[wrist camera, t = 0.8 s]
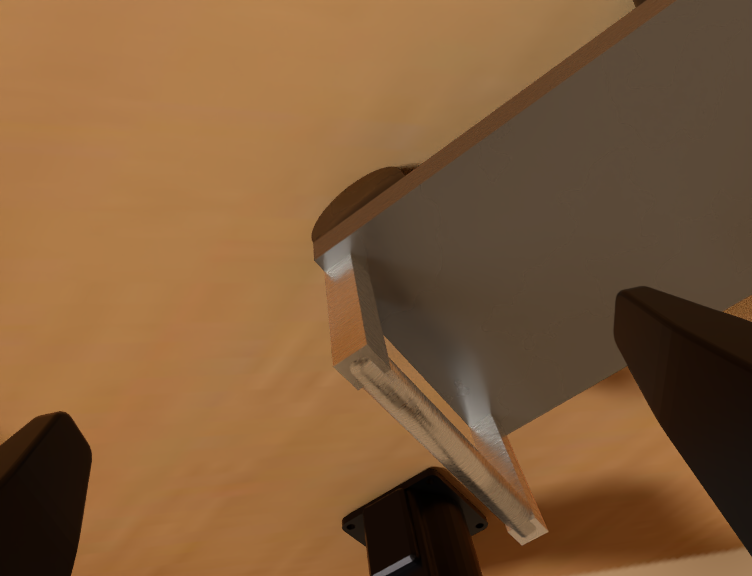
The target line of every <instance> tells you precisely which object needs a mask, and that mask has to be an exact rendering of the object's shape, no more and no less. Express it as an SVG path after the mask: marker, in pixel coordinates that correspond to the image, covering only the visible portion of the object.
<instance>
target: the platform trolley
mask: <svg viewBox="0 0 752 576" xmlns="http://www.w3.org/2000/svg"><path fill="white" fill-rule="evenodd" d="M633 2H634V4H635V7H636V8H635V9H634V10H632V11H631V12H630V13H628V14H627V15H626V16H624V17H623V18H621V19H620V20H619V21H617V22H616V23H615V24H613V25H612V26H610V27H609V28H608V29H606V30H605V31H604V32H602V33H601V34H599V35H598V36H597V37H595V38H594V39H593V40H591V41H590V42H588V43H587V44H586V45H584V46H583V47H582V48H580V49H579V50H577V51H576V52H575V53H573V54H572V55H571V56H569V57H568V58H566V59H565V60H564V61H562V62H561V63H560V64H558V65H557V66H556V67H554V68H553V69H551V70H550V71H549V72H547V73H546V74H545V75H543V76H542V77H540V78H539V79H538V80H536V81H535V82H534V83H532V84H531V85H529V86H528V87H527V88H525V89H524V90H523V91H521V92H520V93H518V94H517V95H516V96H514V97H513V98H512V99H510V100H509V101H507V102H506V103H505V104H503V105H502V106H501V107H499V108H498V109H496V110H495V111H494V112H492V113H491V114H490V115H488V116H487V117H485V118H484V119H483V120H481V121H480V122H479V123H477V124H476V125H475V126H473V127H472V128H470V129H469V130H468V131H466V132H465V133H464V134H462V135H461V136H459V137H458V138H457V139H455V140H454V141H453V142H451V143H450V144H448V145H447V146H446V147H444V148H443V149H442V150H440V151H439V152H437V153H436V154H435V155H433V156H432V157H431V158H429V159H428V160H426V161H425V162H424V163H422V164H421V165H420V166H418V167H417V168H415V169H414V170H413V171H411V172H410V173H409V174H407V175H406V176H405V175H404V174H403V173H402V171H401V170H400V169H399V168H397V167H386V168H382V169H379V170H376V171H374V172H371V173H369V174H367V175H366V176H364V177H362V178H361V179H359V180H357V181H356V182H355V183H353V184H352V185H350V186H349V187H348V188H346V189H345V190H344V191H343V192H342V193H341V194H339V195H338V196H337V197H336V198H335V199H334V200H333V201H332V202H331V203H330V204H329V206H328V207H327V208H326V209H325V210H324V211H323V213H322V214H321V216H320V217H319V219H318V220H317V222H316V224H315V226H314V228H313V231H312V241H313V246H314V261H315V262H316V263H317V264H318V265H319V266H320V267H321V268H322V269H323V270H324V271H325V281H326V293H327V304H328V315H329V326H330V337H331V348H332V359H333V367H334V368H335V369H336V370H337V371H338V372H339V373H340V374H342V375H343V376H344V377H345V378H346V379H347V380H348V381H349V382H350V383H351V384H352V385H353V386H354V387H355V388H356V389H357V390H359V389H361V388H363V389H364V390H366V391H367V392H368V393H369V394H370V395H371V396H372V397H373V398H374V399H375V400H376V401H377V402H378V403H379V404H380V405H381V406H382V407H383V408H384V409H385V410H386V411H387V412H388V413H390V414H391V415H392V416H393V417H394V418H395V419H396V420H397V421H398V422H399V423H400V424H401V425H402V426H403V427H404V428H405V429H406V430H407V431H408V432H409V433H410V434H411V435H412V436H414V437H415V438H416V439H417V440H418V441H419V442H420V443H421V444H422V445H423V446H424V447H425V448H426V449H427V450H428V451H429V452H430V453H431V454H432V455H433V456H434V457H435V458H436V459H438V460H439V461H440V462H441V463H442V464H443V465H444V466H445V467H446V468H447V469H448V470H449V471H450V472H451V473H452V474H453V475H454V476H455V477H456V478H457V479H458V480H459V481H460V482H462V483H463V484H464V485H465V486H466V487H467V488H468V489H469V490H470V491H471V492H472V493H473V494H474V495H475V496H476V497H477V498H478V499H479V500H480V501H481V502H482V503H483V504H484V505H486V506H487V507H488V508H489V509H490V510H491V511H492V512H493V513H494V514H495V515H496V516H497V517H498V518H499V519H500V520H501V521H502V522H503V523H504V524H505V526H506V529H507V531H508V533H509V534H510V535H511V536H512V537H513V538H514V539H516V540H517V541H518V542H519V543H520V544H521V545H524V544H526V543H528V542H530V541H532V540H534V539H536V538H538V537H539V536H541V535H543V534H545V533H547V532H549V531H548V529H547V527H546V524H545V522H544V520H543V518H542V515H541V513H540V511H539V508H538V506H537V504H536V502H535V499H534V497H533V495H532V492H531V490H530V488H529V486H528V483H527V481H526V479H525V476H524V474H523V472H522V470H521V467H520V465H519V463H518V460H517V458H516V456H515V454H514V451H513V449H512V447H511V444H510V442H509V440H508V438H507V435H508V434H509V433H511V432H513V431H515V430H516V429H518V428H520V427H522V426H523V425H525V424H527V423H529V422H530V421H532V420H534V419H536V418H537V417H539V416H541V415H543V414H544V413H546V412H548V411H550V410H551V409H553V408H555V407H557V406H558V405H560V404H562V403H564V402H565V401H567V400H569V399H571V398H572V397H574V396H576V395H577V394H579V393H581V392H583V391H584V390H586V389H588V388H590V387H591V386H593V385H595V384H597V383H598V382H600V381H602V380H604V379H605V378H607V377H609V376H611V375H612V374H614V373H616V372H618V371H619V370H621V369H623V368H625V367H626V366H627V364H626V362H625V360H624V358H623V357H622V355H621V353H620V351H619V349H618V347H617V345H616V343H615V340H614V335H613V327H614V313H615V300H616V296H617V293H618V292H620V291H621V290H624V289H628V288H633V287H638V286H647V287H650V288H653V289H656V290H659V291H662V292H665V293H668V294H671V295H674V296H677V297H680V298H683V299H686V300H689V301H691V302H694V303H697V304H700V305H703V306H706V307H709V308H712V309H715V310H718V311H721V312H722V311H724V310H726V309H728V308H729V307H731V306H733V305H735V304H736V303H738V302H740V301H742V300H743V299H745V298H747V297H749V296H750V295H752V0H633ZM383 335H384V336H385V337H386V338H387V339H388V340H389V341H390V342H391V343H392V344H393V345H394V346H395V348H396V349H397V350H398V351H399V352H400V353H401V354H402V355H403V356H404V357H405V358H406V359H407V360H408V361H409V363H410V364H411V365H412V366H413V367H414V368H415V369H416V370H417V371H418V372H419V373H420V374H421V375H422V376H423V378H424V379H425V380H426V381H427V382H428V383H429V384H430V385H431V386H432V387H433V388H434V389H435V390H436V391H437V393H438V394H439V395H440V396H441V397H442V398H443V399H444V400H445V401H446V402H447V403H448V404H449V405H450V406H451V408H452V409H453V410H454V411H455V412H456V413H457V414H458V415H459V416H460V417H461V418H462V419H463V420H464V421H465V423H466V424H467V425H468V426H469V428H470V430H471V433H472V436H473V439H474V441H475V444H476V447H477V449H476V448H475V447H474V446H473V445H472V444H471V443H470V442H469V441H468V440H467V439H466V438H465V437H464V436H463V435H462V433H461V432H460V431H459V430H458V429H457V428H456V427H455V426H454V425H453V424H452V423H451V422H450V421H449V420H448V419H447V418H446V417H445V416H444V415H443V414H442V413H441V412H440V411H439V409H438V408H437V407H436V406H435V405H434V404H433V403H432V402H431V401H430V400H429V399H428V398H427V397H426V396H425V395H424V394H423V393H422V392H421V391H420V390H419V389H418V388H417V386H416V385H415V384H414V383H413V382H412V381H411V380H410V379H409V378H408V377H407V376H406V375H405V374H404V373H403V372H402V371H401V370H400V369H399V368H398V367H397V366H396V365H395V363H394V362H393V361H392V360H391V359H390V358H389V357H388V354H387V349H386V345H385V341H384V336H383Z"/></svg>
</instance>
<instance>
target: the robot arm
mask: <svg viewBox="0 0 752 576" xmlns="http://www.w3.org/2000/svg"><path fill="white" fill-rule="evenodd" d="M613 335H614V340H615V343H616V345H617V347H618V349H619V351H620V353H621V355H622V357H623V358H624V360H625V362H626V364H627V366H628V368H629V370H630V371H631V373H632V375H633V377H634V379H635V381H636V382H637V384H638V386H639V388H640V390H641V392H642V394H643V395H644V397H645V399H646V401H647V403H648V405H649V407H650V408H651V410H652V412H653V414H654V415H655V417H656V419H657V420H658V422H659V424H660V425H661V427H662V428H663V430H664V431H665V433H666V434H667V436H668V437H669V439H670V440H671V442H672V443H673V444H674V446H675V447H676V449H677V450H678V452H679V453H680V454H681V456H682V457H683V459H684V460H685V462H686V463H687V464H688V466H689V467H690V469H691V470H692V472H693V473H694V475H695V476H696V477H697V479H698V480H699V482H700V483H701V485H702V486H703V487H704V489H705V490H706V492H707V493H708V495H709V496H710V497H711V499H712V500H713V502H714V503H715V505H716V506H717V507H718V509H719V510H720V512H721V513H722V515H723V516H724V517H725V519H726V520H727V522H728V523H729V525H730V526H731V528H732V529H733V530H734V532H735V533H736V535H737V536H738V538H739V539H740V540H741V542H742V543H743V545H744V546H745V548H746V549H747V550H748V552H749V553H750V555H751V556H752V322H750V321H748V320H745V319H742V318H739V317H736V316H733V315H730V314H727V313H724V312H721V311H718V310H715V309H712V308H709V307H706V306H703V305H700V304H697V303H694V302H691V301H689V300H686V299H683V298H680V297H677V296H674V295H671V294H668V293H665V292H662V291H659V290H656V289H653V288H650V287H647V286H638V287H633V288H628V289H624V290H621V291H620V292H618V293H617V296H616V300H615V313H614V327H613ZM91 463H92V453H91V449H90V446H89V444H88V442H87V441H86V439H85V438H84V436H83V435H82V433H81V431H80V430H79V428H78V427H77V425H76V424H75V422H74V421H73V419H72V418H71V416H70V415H69V414H67V413H66V412H62V411H59V412H54V413H49V414H45V415H40V416H38V417H35V418H34V419H33V420H31V421H30V422H29V423H28V424H26V425H25V426H24V427H23V428H21V429H20V430H19V431H18V432H16V433H15V434H14V435H13V436H11V437H10V438H9V439H8V440H7V441H5V442H4V443H3V444H2V445H0V576H71V573H72V569H73V566H74V561H75V557H76V553H77V549H78V543H79V538H80V533H81V526H82V520H83V514H84V507H85V501H86V495H87V488H88V482H89V476H90V469H91ZM487 526H488V523H487V520H486V517H485V516H484V515H483V514H482V513H481V512H480V511H479V510H478V509H477V508H476V507H475V506H473V505H472V504H471V503H470V502H469V501H468V500H467V499H466V498H465V497H464V496H463V495H462V494H461V493H460V492H459V491H457V490H456V489H455V488H454V487H453V486H452V485H451V484H450V483H449V482H448V481H447V480H446V479H445V478H444V477H443V476H442V475H440V474H439V473H438V472H437V471H436V470H433V469H429V470H426V471H424V472H422V473H420V474H418V475H417V476H415V477H413V478H411V479H410V480H408V481H406V482H405V483H403V484H401V485H399V486H398V487H396V488H394V489H392V490H391V491H389V492H387V493H386V494H384V495H382V496H380V497H379V498H377V499H375V500H373V501H372V502H370V503H368V504H367V505H365V506H363V507H361V508H360V509H358V510H356V511H354V512H353V513H351V514H349V515H347V516H346V517H344V518H343V519H342V529H343V530H344V531H345V532H346V533H348V534H349V535H350V536H352V537H353V538H354V539H356V540H357V541H359V542H360V543H361V544H363V545H364V546H366V548H367V557H368V565H369V574H370V576H483V575H482V572H481V568H480V565H479V562H478V558H477V555H476V552H475V549H474V545H473V542H472V539H471V536H472V535H474V534H476V533H478V532H480V531H482V530H484V529H485V528H486V527H487Z"/></svg>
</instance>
